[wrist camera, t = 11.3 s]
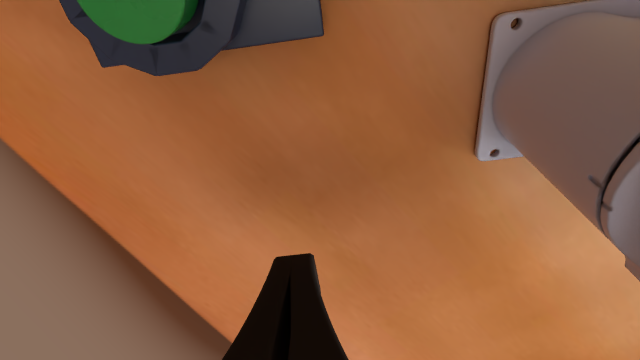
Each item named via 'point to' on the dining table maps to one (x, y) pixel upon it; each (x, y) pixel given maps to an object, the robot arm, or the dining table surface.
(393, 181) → the dining table surface
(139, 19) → the button
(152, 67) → the switch box
